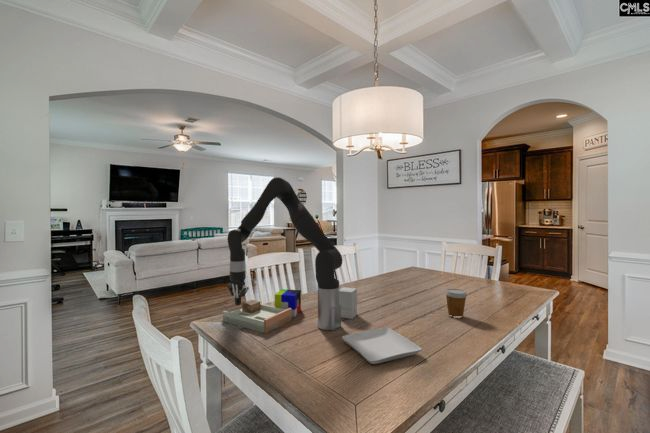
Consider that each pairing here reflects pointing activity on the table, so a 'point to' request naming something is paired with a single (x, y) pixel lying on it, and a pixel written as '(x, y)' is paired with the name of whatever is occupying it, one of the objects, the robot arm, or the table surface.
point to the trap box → (260, 318)
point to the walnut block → (251, 306)
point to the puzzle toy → (289, 300)
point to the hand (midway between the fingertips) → (237, 304)
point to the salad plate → (381, 345)
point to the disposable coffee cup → (455, 301)
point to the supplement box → (348, 302)
